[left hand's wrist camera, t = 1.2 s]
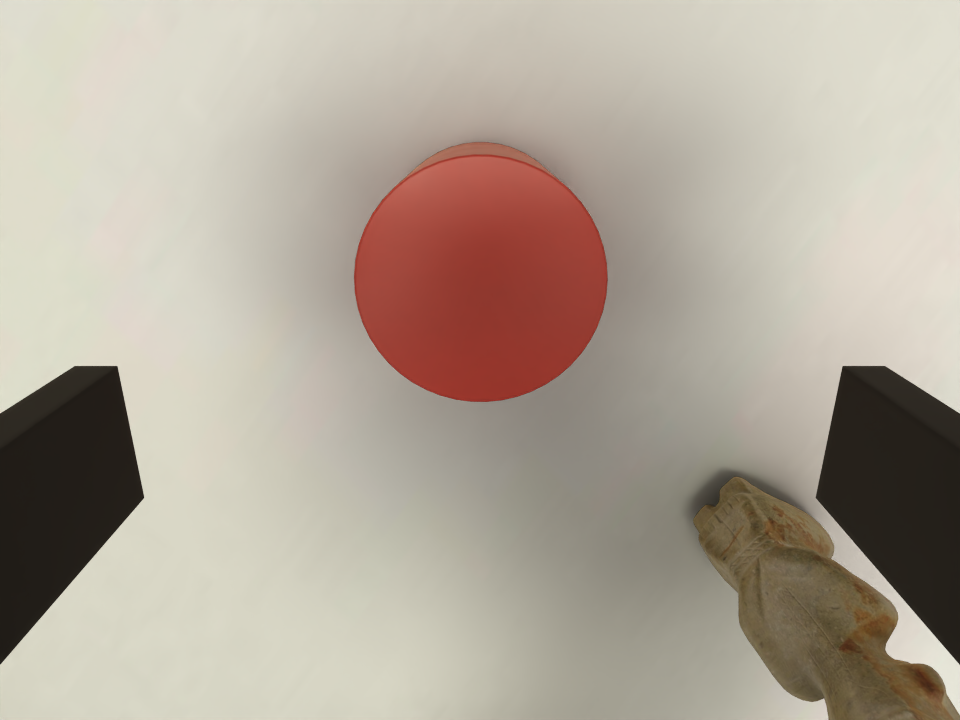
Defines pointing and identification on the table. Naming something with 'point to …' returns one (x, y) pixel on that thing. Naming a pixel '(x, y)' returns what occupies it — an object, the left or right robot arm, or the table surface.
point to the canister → (480, 274)
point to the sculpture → (813, 612)
